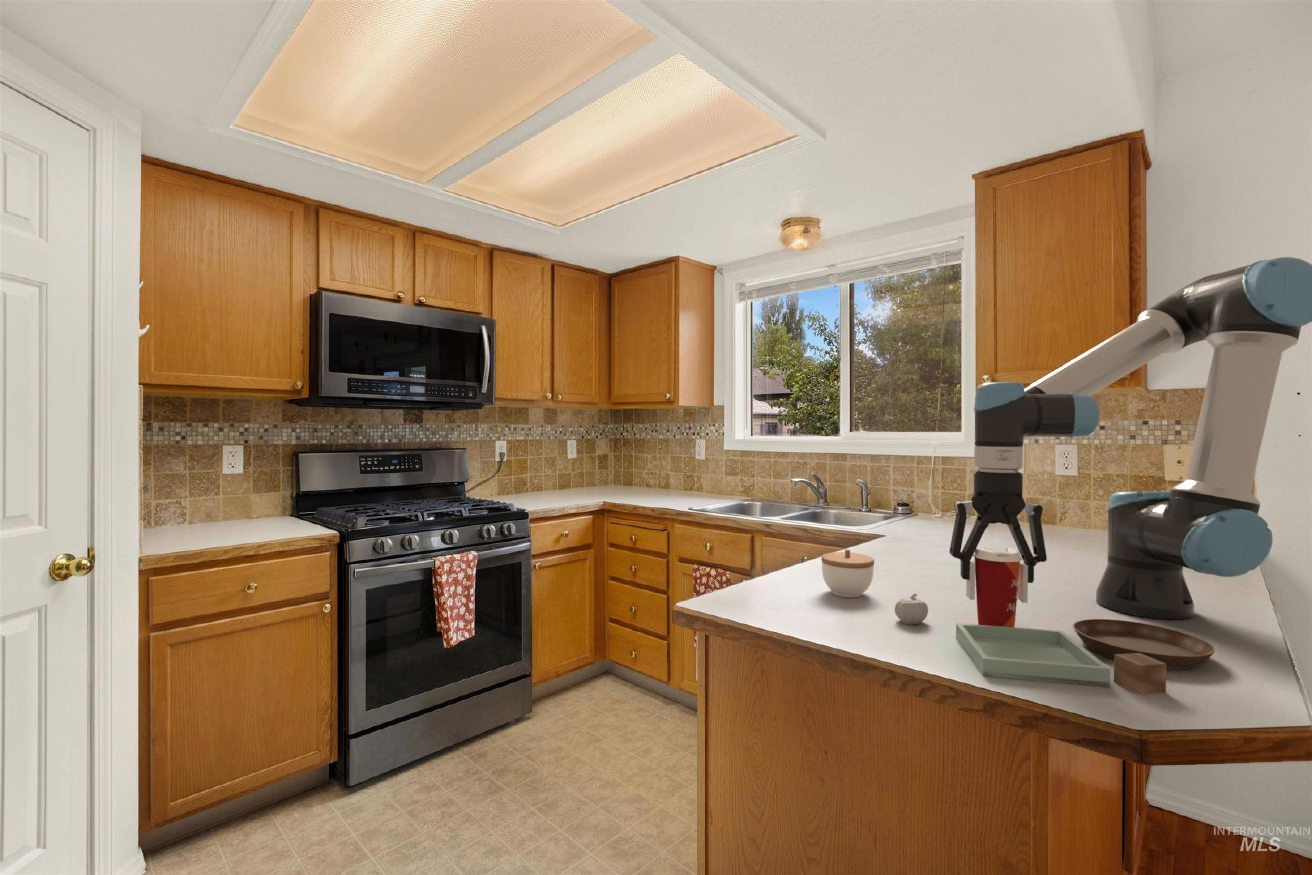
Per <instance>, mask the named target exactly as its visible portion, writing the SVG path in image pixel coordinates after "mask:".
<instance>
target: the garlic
mask: <svg viewBox="0 0 1312 875" xmlns="http://www.w3.org/2000/svg"><path fill="white" fill-rule="evenodd" d="M917 596H918V594H917V593H913V594H912V595H911V596H910V597H908V596H906V597H903V598H901V599H899V600H898V601H897V602H896V604H895V606H894V613H895V615H896V617H897V618H898V619H899V621H900V622H902V623H904V624H905V625H918V624H922V622H924V620H926V618H927V616H928V613H929V607H928V605H927V603H926V602H925V601H924V600H921V599H918V598H916V597H917Z"/></svg>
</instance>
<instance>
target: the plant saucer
mask: <svg viewBox="0 0 1312 875" xmlns="http://www.w3.org/2000/svg"><path fill="white" fill-rule="evenodd" d="M1072 627H1073V630H1074V631H1075V633H1076V635H1077V636H1078V637H1079V638H1080V640H1081V641H1083V643H1084V644H1085V645H1086V646H1087V647H1088V648H1089V649H1091V650H1092V651H1094V652H1096V653H1098V654H1099V655H1102V656H1105V657H1107V658H1111V659H1113V660H1114V654H1130V653H1141V654H1143V655H1146V656H1148V657H1151V658H1153V659H1156V660H1158V661H1160V662H1163V663H1165V664H1166V670H1189V669H1195V668H1196V667H1199V666H1200V665H1201V664H1203V663H1205V662H1206V661H1207V660H1208V659H1210V658H1211V657H1212V656H1213V655H1214V654H1215V652H1216V648H1215V647H1214V645H1212V644H1211V643H1210V642H1208V641H1206V640H1204V639H1203V638H1200V637H1197V636H1195V635H1193V634H1190V633H1185V632H1182V631H1181V630H1175V629H1172V628H1167V627H1164V626H1159V625H1154V624H1148V623H1143V622H1136V621H1131V620H1120V619H1109V618H1092V619H1091V618H1090V619H1088V618H1087V619H1082V620H1078V621H1075V622H1074V623H1073V626H1072Z"/></svg>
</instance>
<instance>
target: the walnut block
mask: <svg viewBox="0 0 1312 875" xmlns="http://www.w3.org/2000/svg"><path fill="white" fill-rule="evenodd" d="M1113 682H1114V683H1116V684H1118V685H1119V686H1121V687H1124V688H1125V689H1127V690H1129V691H1132V692H1134V693H1136V694H1138V695H1149V694H1150V695H1151V694H1152V695H1153V694H1166V693H1167V692H1166V691H1167V669H1166V664H1165V663H1163V662H1160V661H1158V660H1156V659H1153V658H1151V657H1148V656H1146V655H1143V654H1141V653H1130V654H1114V659H1113Z"/></svg>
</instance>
